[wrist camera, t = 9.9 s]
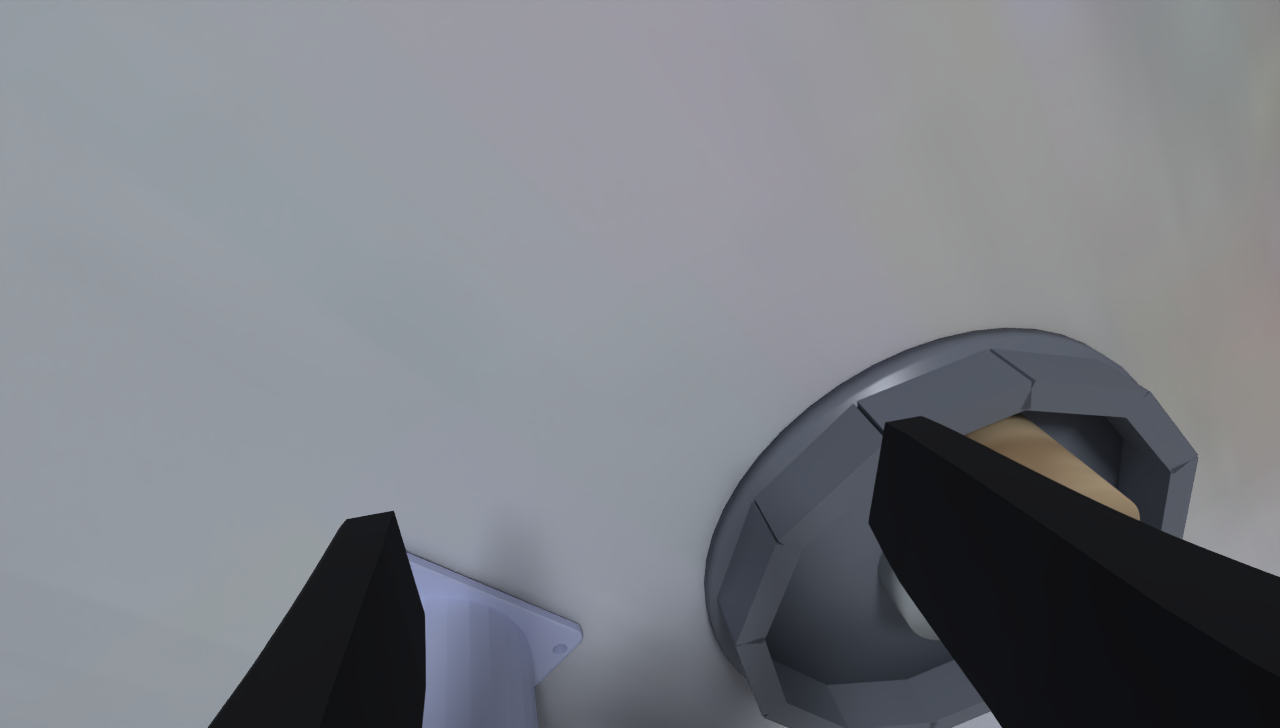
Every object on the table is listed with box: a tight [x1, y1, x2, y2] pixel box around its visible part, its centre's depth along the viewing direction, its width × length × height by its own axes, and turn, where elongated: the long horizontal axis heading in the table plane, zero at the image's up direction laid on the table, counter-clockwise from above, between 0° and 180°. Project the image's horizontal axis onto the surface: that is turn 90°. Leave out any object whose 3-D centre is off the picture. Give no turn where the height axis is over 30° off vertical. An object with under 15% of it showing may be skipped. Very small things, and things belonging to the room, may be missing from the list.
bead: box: [964, 413, 1140, 521], centre depth 21 cm, size 4×4×5 cm
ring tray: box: [704, 328, 1198, 728], centre depth 25 cm, size 18×18×3 cm
